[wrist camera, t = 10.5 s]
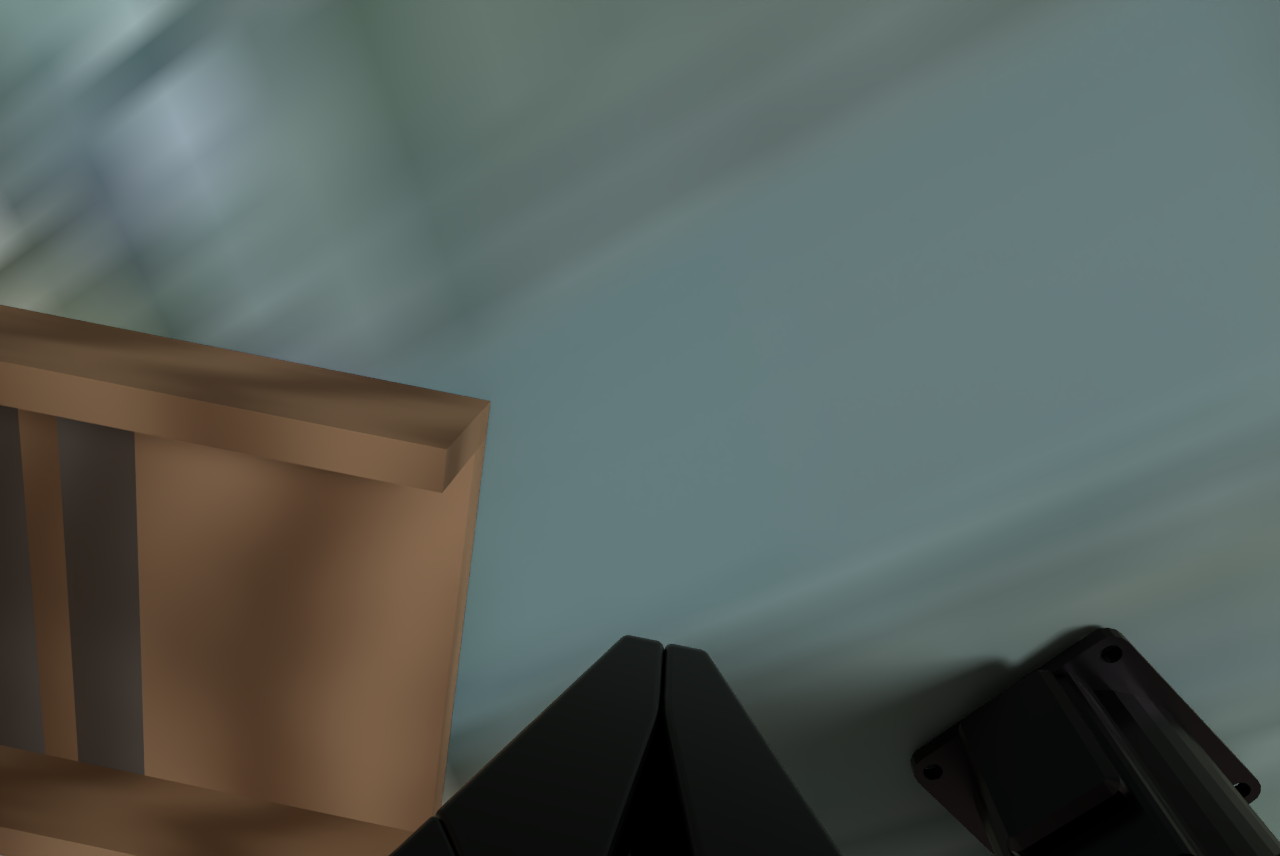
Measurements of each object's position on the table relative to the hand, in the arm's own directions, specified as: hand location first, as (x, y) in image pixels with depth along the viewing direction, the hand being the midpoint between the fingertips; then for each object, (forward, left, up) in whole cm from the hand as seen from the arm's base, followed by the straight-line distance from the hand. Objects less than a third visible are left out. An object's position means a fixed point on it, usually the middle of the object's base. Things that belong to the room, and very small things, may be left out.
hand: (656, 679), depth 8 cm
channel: (+8, +16, -12) cm, 22 cm away
